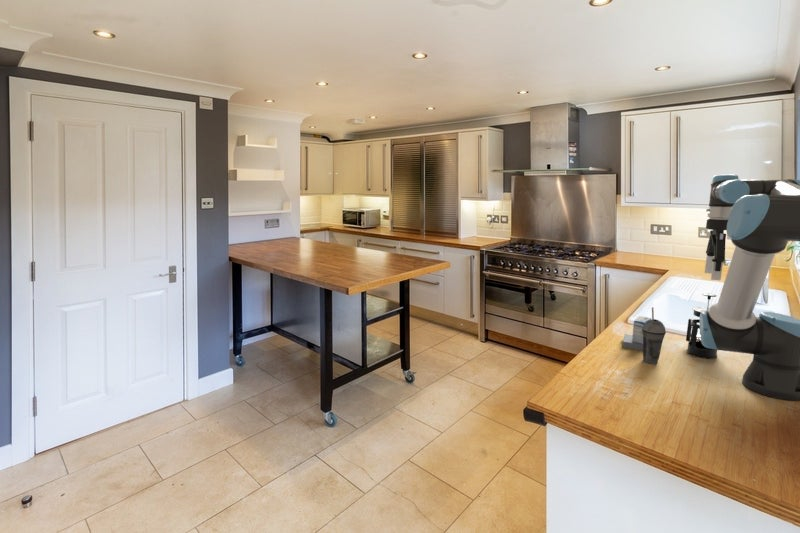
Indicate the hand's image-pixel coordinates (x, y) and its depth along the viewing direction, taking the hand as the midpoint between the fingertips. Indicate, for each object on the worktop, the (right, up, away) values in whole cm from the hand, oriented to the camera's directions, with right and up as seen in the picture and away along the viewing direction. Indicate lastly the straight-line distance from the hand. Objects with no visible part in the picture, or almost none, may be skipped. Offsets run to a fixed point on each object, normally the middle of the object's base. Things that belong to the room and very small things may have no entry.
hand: (712, 276), depth 158 cm
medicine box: (-21, -25, +9) cm, 34 cm away
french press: (-3, -29, +3) cm, 29 cm away
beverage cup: (-26, -31, -4) cm, 40 cm away
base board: (-21, -28, +10) cm, 37 cm away
